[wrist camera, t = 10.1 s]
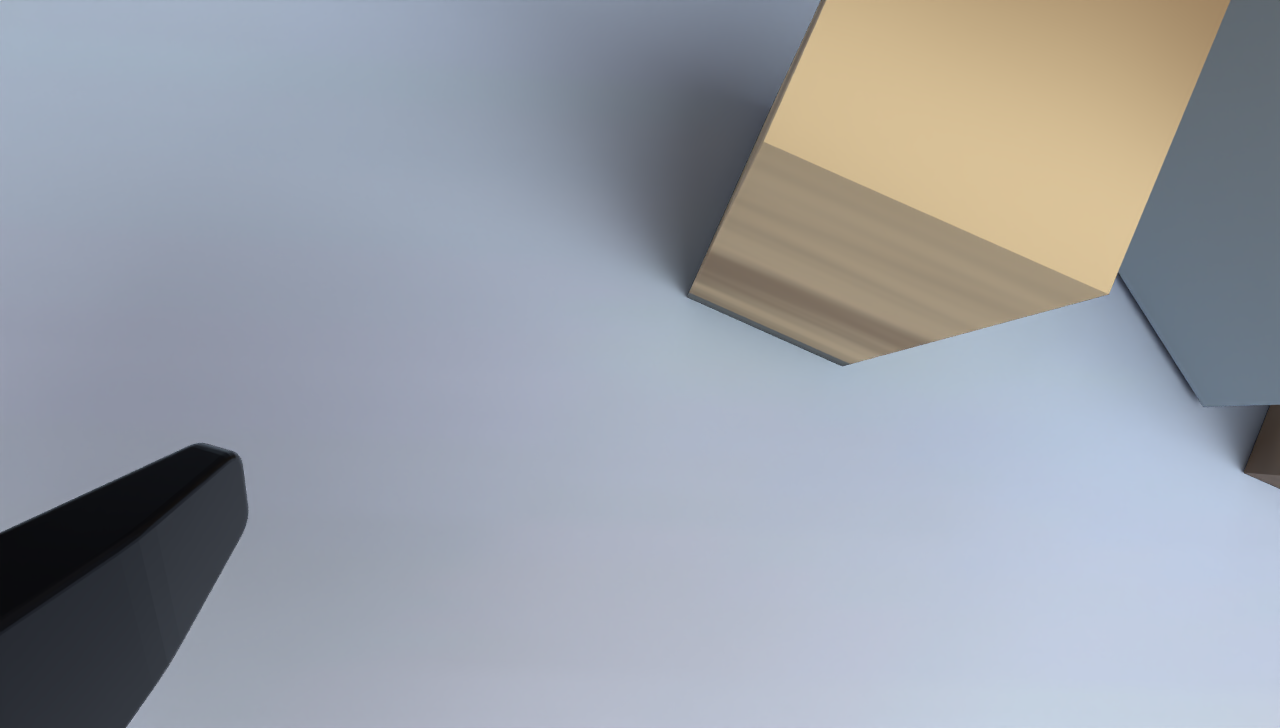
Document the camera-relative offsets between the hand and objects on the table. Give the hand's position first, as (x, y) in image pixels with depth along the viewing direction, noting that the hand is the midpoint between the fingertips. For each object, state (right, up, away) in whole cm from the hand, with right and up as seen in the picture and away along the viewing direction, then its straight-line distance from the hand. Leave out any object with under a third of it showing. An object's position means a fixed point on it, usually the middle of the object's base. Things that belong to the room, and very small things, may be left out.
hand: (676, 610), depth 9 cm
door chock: (+4, +5, +14) cm, 15 cm away
